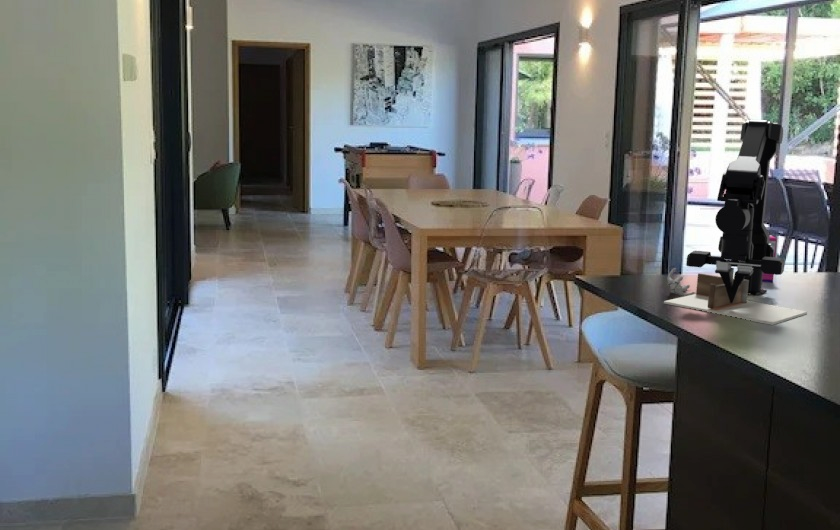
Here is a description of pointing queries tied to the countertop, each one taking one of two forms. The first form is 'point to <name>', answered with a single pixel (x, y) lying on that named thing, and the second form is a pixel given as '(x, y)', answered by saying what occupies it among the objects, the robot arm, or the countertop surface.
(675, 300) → the card
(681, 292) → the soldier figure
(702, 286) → the fence base
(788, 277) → the countertop surface
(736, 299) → the fence panel
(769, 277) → the supplement box
